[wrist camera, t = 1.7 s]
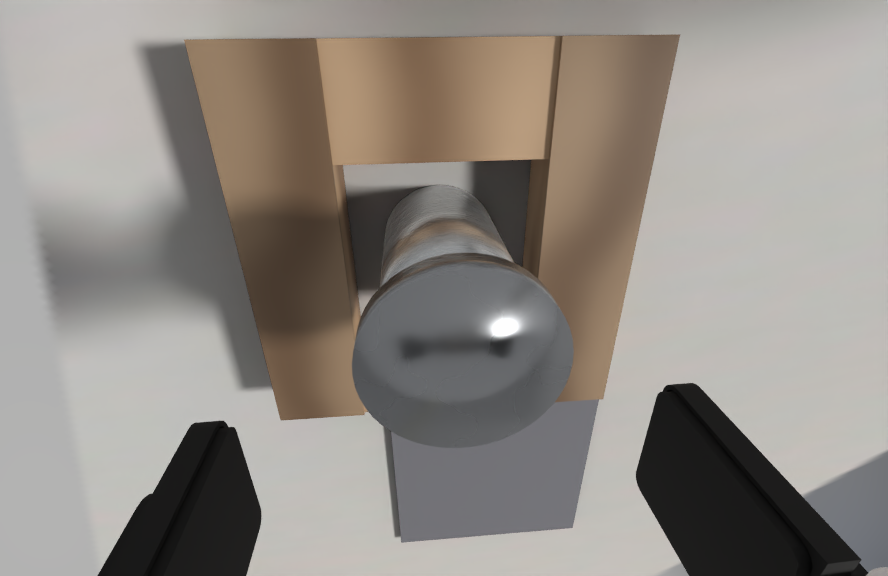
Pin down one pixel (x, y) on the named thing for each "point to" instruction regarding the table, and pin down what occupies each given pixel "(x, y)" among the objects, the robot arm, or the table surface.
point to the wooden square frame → (419, 141)
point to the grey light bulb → (457, 329)
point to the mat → (496, 479)
